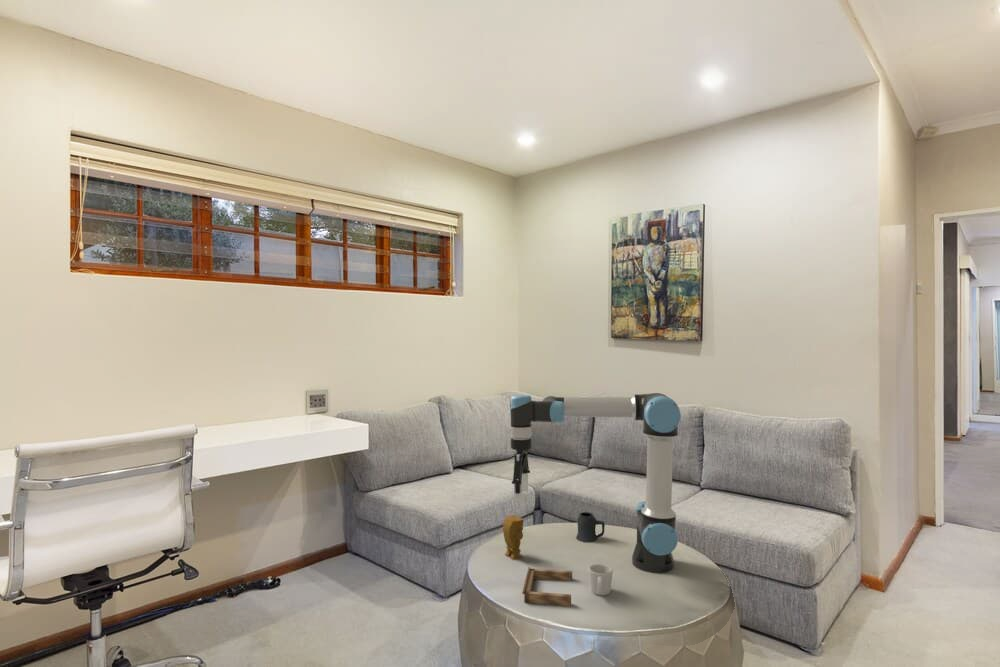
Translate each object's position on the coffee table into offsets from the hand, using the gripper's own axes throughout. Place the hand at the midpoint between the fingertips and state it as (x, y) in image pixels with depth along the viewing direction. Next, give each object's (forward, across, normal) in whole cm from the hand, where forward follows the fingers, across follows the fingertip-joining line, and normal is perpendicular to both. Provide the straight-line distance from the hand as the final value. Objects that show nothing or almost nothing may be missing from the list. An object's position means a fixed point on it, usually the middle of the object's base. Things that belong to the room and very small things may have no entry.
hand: (521, 496), depth 198 cm
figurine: (+28, -14, -6) cm, 32 cm away
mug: (+28, -37, +23) cm, 52 cm away
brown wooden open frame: (+28, +11, +11) cm, 32 cm away
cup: (+28, +10, +28) cm, 41 cm away
